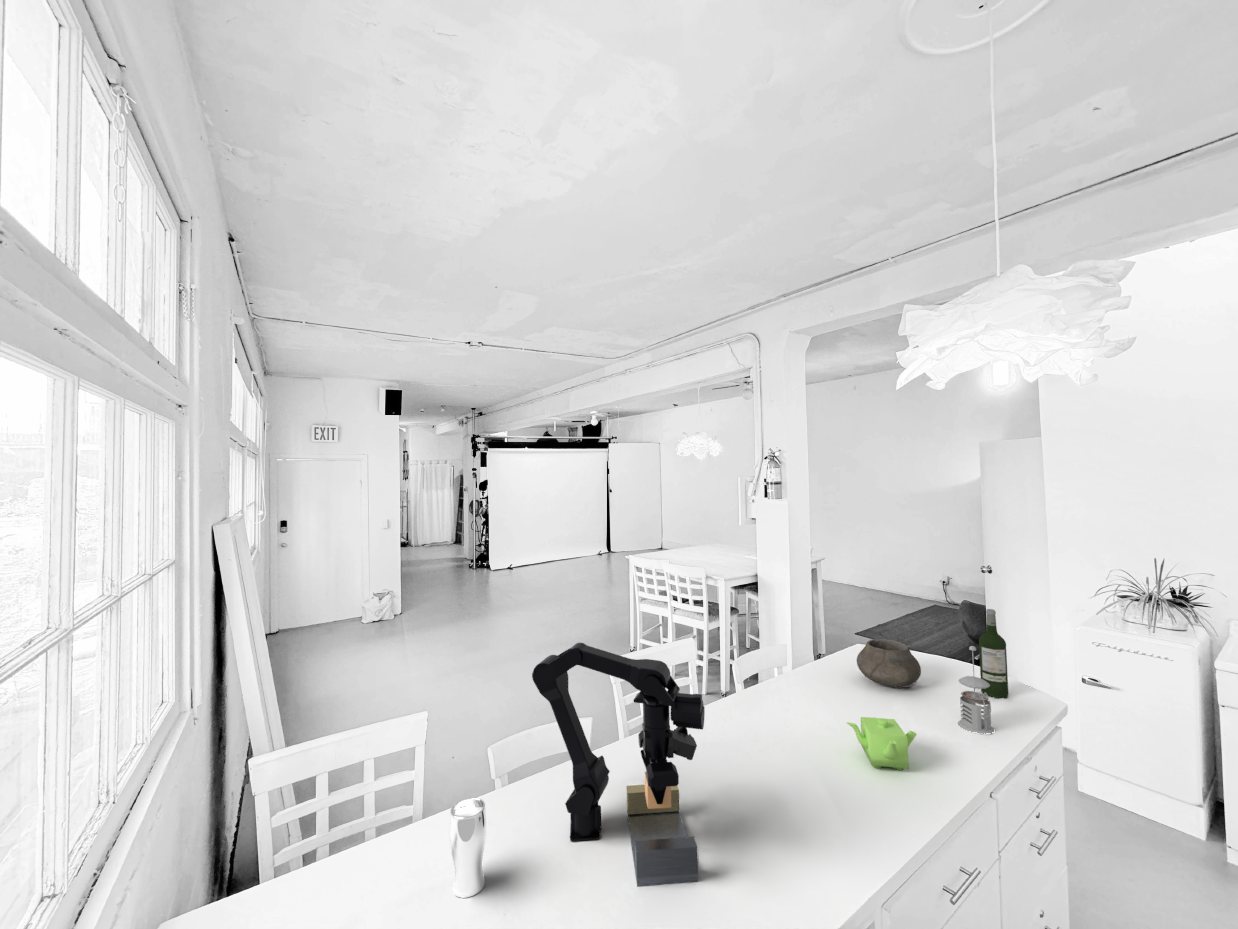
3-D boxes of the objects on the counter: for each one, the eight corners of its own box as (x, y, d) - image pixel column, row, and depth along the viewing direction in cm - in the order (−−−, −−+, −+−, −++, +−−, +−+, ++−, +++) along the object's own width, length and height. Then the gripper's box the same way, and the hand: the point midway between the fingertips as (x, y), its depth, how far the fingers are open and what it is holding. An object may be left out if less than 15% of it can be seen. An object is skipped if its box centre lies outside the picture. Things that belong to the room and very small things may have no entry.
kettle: (896, 783, 132) (894, 738, 133) (845, 760, 144) (843, 719, 144) (924, 764, 141) (922, 722, 141) (873, 743, 152) (871, 705, 153)
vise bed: (637, 886, 100) (636, 851, 100) (627, 814, 122) (626, 785, 122) (698, 881, 101) (697, 847, 101) (677, 810, 123) (676, 782, 123)
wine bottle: (986, 697, 182) (982, 611, 183) (977, 689, 190) (974, 606, 191) (1012, 700, 180) (1008, 613, 181) (1003, 691, 188) (999, 607, 189)
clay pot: (922, 679, 200) (921, 640, 200) (920, 699, 182) (918, 656, 182) (861, 669, 211) (859, 633, 212) (853, 687, 193) (851, 647, 194)
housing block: (647, 809, 109) (647, 783, 109) (645, 794, 114) (644, 770, 114) (671, 807, 110) (670, 782, 110) (667, 793, 115) (666, 769, 115)
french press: (983, 720, 165) (979, 641, 166) (1006, 738, 154) (1002, 653, 155) (951, 719, 166) (947, 641, 167) (971, 737, 155) (968, 652, 156)
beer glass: (490, 871, 105) (489, 796, 105) (482, 899, 98) (481, 818, 98) (455, 873, 105) (455, 797, 105) (445, 901, 98) (444, 819, 98)
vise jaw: (628, 814, 119) (627, 793, 119) (626, 806, 122) (626, 785, 122) (679, 811, 120) (678, 790, 120) (677, 803, 123) (676, 782, 123)
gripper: (702, 742, 104) (704, 822, 103) (684, 703, 122) (685, 770, 122) (647, 745, 103) (649, 825, 102) (637, 705, 122) (638, 773, 121)
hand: (657, 796), depth 112 cm, fingers closed on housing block, 5 cm apart
